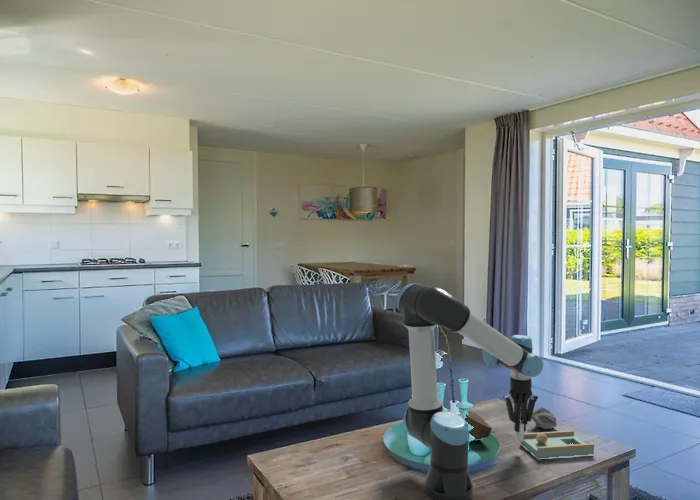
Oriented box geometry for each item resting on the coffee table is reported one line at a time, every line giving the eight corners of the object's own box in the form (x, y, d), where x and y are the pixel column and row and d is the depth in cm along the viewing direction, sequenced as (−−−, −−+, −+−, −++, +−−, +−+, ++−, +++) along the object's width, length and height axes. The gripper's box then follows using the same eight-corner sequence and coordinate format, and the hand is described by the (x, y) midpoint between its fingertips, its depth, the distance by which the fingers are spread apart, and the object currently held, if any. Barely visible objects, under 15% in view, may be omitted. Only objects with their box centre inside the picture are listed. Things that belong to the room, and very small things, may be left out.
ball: (539, 446, 184) (539, 435, 183) (533, 441, 188) (534, 431, 187) (549, 445, 184) (549, 435, 184) (543, 441, 188) (543, 430, 188)
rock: (497, 431, 193) (484, 421, 188) (482, 452, 192) (468, 443, 187) (476, 413, 204) (463, 404, 198) (461, 433, 203) (448, 425, 198)
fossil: (537, 433, 203) (537, 414, 203) (524, 424, 212) (525, 406, 212) (561, 431, 206) (561, 412, 205) (548, 422, 214) (548, 404, 214)
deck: (538, 460, 179) (538, 448, 179) (520, 445, 192) (520, 433, 191) (593, 456, 182) (594, 444, 182) (572, 441, 195) (572, 430, 195)
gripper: (509, 381, 179) (508, 445, 180) (542, 379, 181) (541, 443, 182) (499, 375, 186) (498, 437, 187) (531, 373, 188) (530, 434, 189)
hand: (519, 439), depth 184 cm, fingers closed
